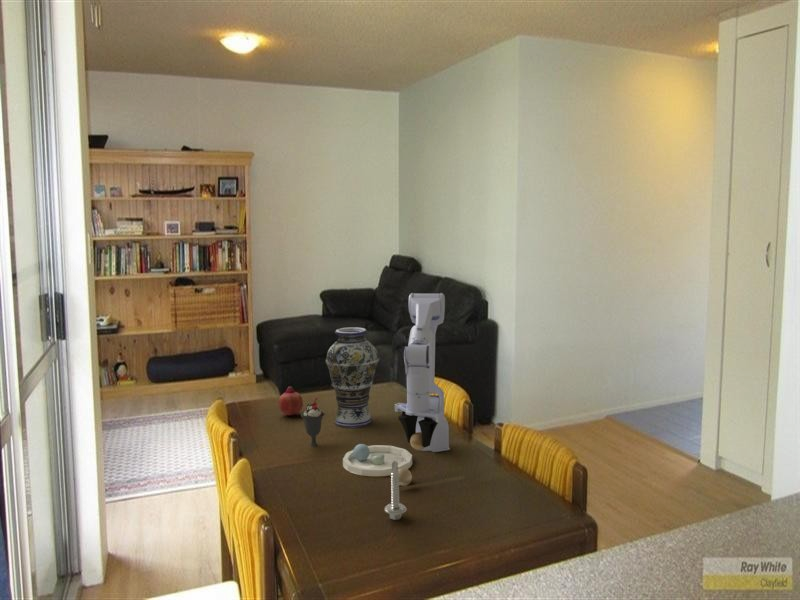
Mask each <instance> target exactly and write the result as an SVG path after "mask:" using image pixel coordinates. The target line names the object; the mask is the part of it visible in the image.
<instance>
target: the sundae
mask: <svg viewBox="0 0 800 600" xmlns="http://www.w3.org/2000/svg"><path fill="white" fill-rule="evenodd" d="M316 401H318V397H316V398H315V399H314V401H313V402H312V403H310V404H309V403H307V405H306V409H305V411H303V412H301V413H300V416H301V418H303V421H304V427H305V432H306V434H307V435H308V436H310V438H311V443H310V445H309V447H313V448H315V447H318V446H319V444H318V443H317V439H316V437H317V436H318V435H319V434H320V432H321V430H322V419H323V417H324V416H325V415H326V413H325V412H323V411H322V410H321V409H320V407H319V405H317V404H318V403H317V402H316Z"/></svg>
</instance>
